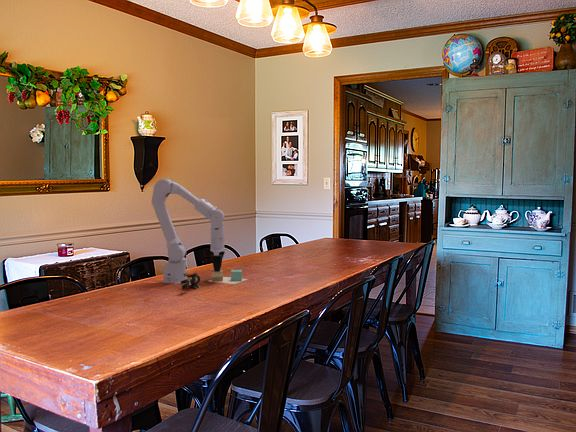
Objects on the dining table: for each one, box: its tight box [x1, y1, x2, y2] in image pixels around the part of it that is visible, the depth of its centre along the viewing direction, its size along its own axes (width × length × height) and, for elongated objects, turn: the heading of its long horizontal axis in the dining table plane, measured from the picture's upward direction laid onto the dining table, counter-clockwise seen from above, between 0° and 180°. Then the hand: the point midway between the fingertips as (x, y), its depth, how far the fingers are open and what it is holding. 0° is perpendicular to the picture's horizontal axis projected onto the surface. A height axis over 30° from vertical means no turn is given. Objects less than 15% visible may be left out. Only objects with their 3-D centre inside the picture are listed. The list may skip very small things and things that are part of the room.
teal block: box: [230, 269, 243, 282], centre depth 213 cm, size 4×4×4 cm
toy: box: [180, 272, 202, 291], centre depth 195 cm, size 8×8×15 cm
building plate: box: [208, 276, 248, 285], centre depth 213 cm, size 11×14×1 cm
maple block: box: [211, 269, 224, 281], centre depth 212 cm, size 4×4×4 cm
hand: (217, 269), depth 212 cm, fingers open, 7 cm apart
